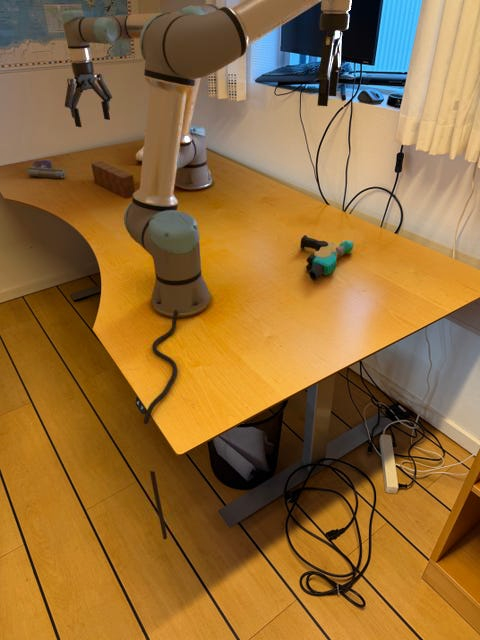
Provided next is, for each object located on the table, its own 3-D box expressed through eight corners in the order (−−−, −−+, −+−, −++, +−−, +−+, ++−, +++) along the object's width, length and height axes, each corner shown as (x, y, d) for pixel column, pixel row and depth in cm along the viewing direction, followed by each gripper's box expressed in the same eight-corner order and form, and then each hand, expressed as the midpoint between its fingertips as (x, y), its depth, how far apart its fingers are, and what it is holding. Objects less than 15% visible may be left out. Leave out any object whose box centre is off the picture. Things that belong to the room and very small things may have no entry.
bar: (135, 195, 188) (132, 175, 183) (126, 198, 185) (122, 178, 180) (104, 179, 202) (100, 161, 198) (94, 182, 200) (91, 163, 195)
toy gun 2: (277, 262, 133) (328, 274, 127) (310, 227, 151) (356, 237, 146) (276, 276, 135) (326, 289, 130) (309, 240, 154) (354, 250, 148)
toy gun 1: (79, 169, 213) (62, 180, 201) (41, 166, 216) (22, 178, 205) (77, 160, 211) (60, 171, 199) (39, 158, 214) (20, 169, 202)
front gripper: (329, 9, 134) (322, 91, 146) (310, 15, 115) (304, 109, 127) (356, 9, 132) (347, 92, 144) (341, 15, 113) (332, 111, 125)
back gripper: (102, 56, 182) (112, 115, 194) (45, 65, 166) (60, 128, 179) (115, 57, 178) (124, 117, 191) (58, 66, 162) (72, 131, 175)
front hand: (327, 100), depth 136 cm, fingers open, 13 cm apart
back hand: (93, 123), depth 185 cm, fingers open, 13 cm apart
